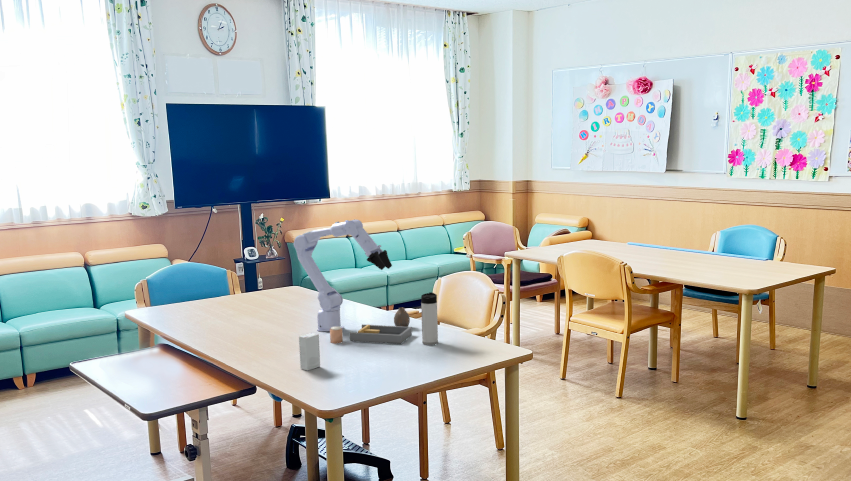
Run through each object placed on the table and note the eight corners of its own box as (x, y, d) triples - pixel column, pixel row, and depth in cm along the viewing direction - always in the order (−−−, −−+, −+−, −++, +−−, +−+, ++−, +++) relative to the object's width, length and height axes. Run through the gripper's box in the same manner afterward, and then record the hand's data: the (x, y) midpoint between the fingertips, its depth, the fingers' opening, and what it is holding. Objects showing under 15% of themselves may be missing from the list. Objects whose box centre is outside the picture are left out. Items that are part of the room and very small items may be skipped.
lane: (349, 341, 279) (349, 332, 278) (362, 332, 292) (362, 324, 292) (401, 344, 272) (400, 335, 272) (411, 335, 286) (411, 327, 285)
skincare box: (312, 364, 248) (311, 332, 247) (321, 367, 245) (319, 334, 244) (299, 369, 244) (297, 335, 242) (307, 371, 241) (306, 337, 239)
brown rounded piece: (407, 330, 294) (407, 310, 293) (392, 329, 296) (391, 309, 295) (411, 326, 301) (411, 306, 300) (396, 325, 302) (395, 306, 301)
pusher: (358, 338, 279) (357, 331, 279) (367, 332, 290) (367, 324, 289) (374, 339, 277) (373, 331, 277) (383, 333, 288) (383, 325, 287)
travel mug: (440, 341, 275) (439, 292, 273) (435, 345, 269) (434, 296, 266) (425, 340, 277) (424, 292, 275) (420, 344, 271) (418, 295, 268)
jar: (328, 343, 277) (327, 328, 276) (333, 339, 281) (332, 325, 281) (339, 343, 275) (339, 329, 274) (344, 340, 280) (344, 326, 279)
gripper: (366, 237, 278) (387, 262, 275) (379, 236, 291) (399, 260, 289) (354, 248, 279) (374, 273, 277) (368, 247, 293) (388, 271, 291)
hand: (386, 267), depth 283 cm, fingers open, 7 cm apart
